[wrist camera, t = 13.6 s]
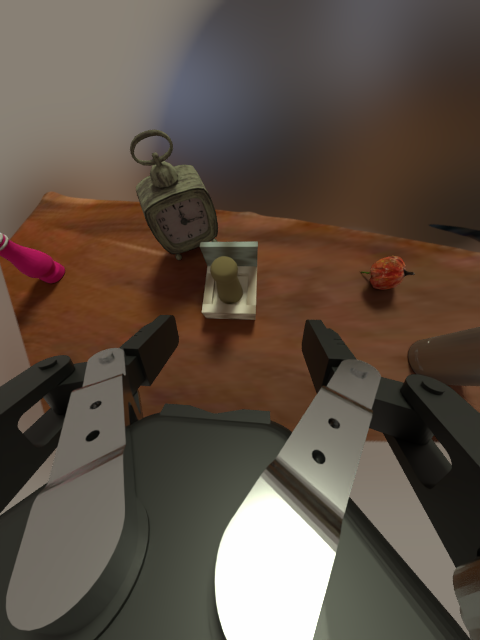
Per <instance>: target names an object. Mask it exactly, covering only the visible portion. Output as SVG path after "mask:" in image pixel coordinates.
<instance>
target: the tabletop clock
mask: <svg viewBox="0 0 480 640" xmlns="http://www.w3.org/2000/svg"><path fill="white" fill-rule="evenodd" d="M156 135H157V136H162V137H164V138H166V139H167V140H168V141H169V143H170V148H169V150H168V152H167V153H165V154H164V155H163V156H161V157H158V154H157V153H153V154H152V157H153V160H150V161H142V160H138V159H137V158H136V157H135V155H134V149H135V146H136V144H137V143H138V142H139V141H141V140H143V139H144V138H147V137H150V136H156ZM172 150H173V144H172V141H171V139H170V138H169V137H168V135H167V134H165V133H164V132H162V131H159V130H148V131H145V132H142V133H140V134H138V135H137V136H135V138H134V139H133V141H132V142H131V146H130V151H131V155H132V157H133V159H134V160H135V161H136V162H137V163H140V164H142V165H149V166H151V165H153V166H152V168H151V171H150V176H148V177H146V178H145V179H143V180H142V181H141V182H140V183H139V184H138V185H137V186H136V192H137V196H138V199H139V202H140V204H141V207H142V210H143V213H144V216H145V219H146V221H147V224H148V226H149V228H150V230H151V231H152V233H153V235H154V236H155V238H156V239H157V241H158V242H159V243H160V244H161V245H162V247H163V248H164V249H165V250H167V251H168V252H169V253H171V254H176V259H177V260H181V258H182V256H181V255H180V253H183V252H186V251H189V250H192V249H195V248H197V247H199V246H200V242H210V241H212V242H217V240H216V239H214V238H215V237H216V236H217V233H218V223H217V216H216V212H215V209H214V206H213V203H212V200H211V198H210V196H209V194H208V192H207V190H206V188H205V186H204V185H203V183H202V181H201V179H200V177H199V175H198V173H197V171H196V170H195V169H194V168H193V166H190V165H179V166H175V167H173V166H172V165H171V164H169V163H167V162H164V161H165V160H166V159H167V158H168V157H169V156H170V155H171V153H172Z"/></svg>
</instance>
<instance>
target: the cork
mask: <svg viewBox="0 0 480 640" xmlns="http://www.w3.org/2000/svg"><path fill="white" fill-rule="evenodd" d="M210 272H211V276H212V277H213V279H214V280H215V281H216V285H217V292H218V297H219V299H220V300H221V301H222V302H223V303H226V304H234V303H236V302H238V301H239V300H240V299H241V298H242V295H243V289H242V286H241V284H240V282H239V279H238V277H237V274H238V267H237V264H236V262H235V261H234V260H233V259H232V258H230V257H227V256H222V257H218V258H217V259H215V260H214V261H213V263H212V265H211V268H210Z"/></svg>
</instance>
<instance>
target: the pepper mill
mask: <svg viewBox="0 0 480 640" xmlns="http://www.w3.org/2000/svg"><path fill="white" fill-rule="evenodd" d="M0 256H2V257H4V258H6V259H7V260H9V261H10V262H11V263H12V264H13V265H14V266H15V267H16V268H17V269H18V270H19V271H21V272H22V273H23V274H25V275H27V276H29V277H32V278H39V279H40V280H42V281H44V282H47V283H55V282H57V281H59V280H60V279H61V278H62V277H63V275H64V273H65V269H64V267H63V266H62V265H61V264H59V263H57V262H55V261H53V259H52V258H51V257H50V256H49V255H47V254H45V253H43V252H41V251H38V250H34V249H30V248H26V247H23V246H20V245H18V244H16V243H14V242H12V241H10V240H9V239H8V237H7V236H6V235H4V234H2V233H0Z"/></svg>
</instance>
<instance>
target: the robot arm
mask: <svg viewBox="0 0 480 640" xmlns="http://www.w3.org/2000/svg"><path fill="white" fill-rule="evenodd" d="M178 343H179V336H178V331H177V326H176V321H175V317H174V316H173V315H160V316H158V317H157V318H156V319H155V320H154V321H153V322H152V323H150V324H148V325H146V326H144V327H143V328H141V329H140V330H139V331H138V332H137V333H136V334H135V335H134V336H132V337H131V338H130V339H129V340H128V341H126V342H125V343H124V344H123V345H122V346H121V347H120V348H111V349H107V350H103V351H101V352H99V353H97V354H95V355H93V356H92V357H91V358H90V359H89V360H88V362H84V363H77V364H73V363H72V361H71V359H70V357H69V356H66V355H60V356H54V357H51V358H47V359H45V360H42V361H40V362H38V363H36V364H35V365H33V366H31V367H30V368H28V369H27V370H25V371H24V372H22V373H21V374H19V375H18V376H16V377H15V378H13V379H11V380H10V381H8V382H7V383H5V384H4V385H2V386H1V387H0V513H1V512H2V511H3V509H4V508H5V507H6V506H7V505H8V504H9V502H10V501H11V500H12V499H13V498H14V497H15V495H16V494H17V493H18V492H19V491H20V489H21V488H22V487H23V486H24V485H25V484H26V483H27V481H28V480H29V479H30V478H31V477H32V475H33V474H34V473H35V472H36V471H37V470H38V469H39V467H40V466H41V465H42V464H43V463H44V462H45V461H46V459H47V458H48V457H49V456H50V454H52V452H53V451H54V450H55V449H56V448H57V451H56V454H55V458H54V462H53V466H52V470H51V474H50V478H49V481H48V483H47V484H45V485H43V486H42V487H41V488H39V489H38V490H36V491H35V492H33V493H32V494H30V495H29V496H28V497H26V498H25V499H23V500H22V501H20V502H19V503H18V504H16V505H15V506H13V507H12V508H10V509H9V510H7V511H6V512H5V513H3V514H2V515H0V640H470V639H471V640H480V413H479V412H477V411H476V410H475V409H474V408H473V407H472V406H471V405H470V404H468V403H467V402H466V401H465V400H464V399H463V398H462V397H461V396H460V395H458V394H457V393H456V392H455V391H454V390H453V389H451V388H450V387H449V386H447V385H459V386H480V327H477V328H472V329H468V330H463V331H459V332H455V333H450V334H446V335H441V336H437V337H432V338H428V339H423V340H419V341H417V342H415V343H414V344H413V345H412V346H411V347H410V349H409V353H408V359H409V363H410V365H411V367H412V369H413V370H414V372H415V373H416V374H412V375H409V376H407V378H406V380H405V382H404V383H403V382H399V381H395V380H391V379H387V378H383V377H381V376H380V373H379V372H378V371H377V370H376V369H375V368H374V367H373V366H371V365H369V364H368V363H365V362H363V361H360V360H357V359H356V358H355V356H354V355H353V354H352V352H351V351H350V350H349V348H348V347H347V346H346V345H345V343H344V342H343V340H342V339H341V338H340V336H339V335H338V334H337V333H336V332H334V331H333V330H331V329H327V328H326V327H325V325H324V324H323V322H322V321H321V320H306V323H305V328H304V334H303V339H302V352H303V355H304V358H305V361H306V364H307V367H308V370H309V373H310V375H311V378H312V381H313V384H314V387H315V390H316V393H317V395H316V397H315V398H314V400H313V401H312V403H311V405H310V406H309V408H308V409H307V411H306V412H305V414H304V415H303V417H302V418H301V420H300V422H299V423H298V425H297V426H296V428H295V429H294V431H293V432H291V431H290V430H288V429H287V428H285V427H284V426H282V425H280V424H278V423H276V422H273V421H271V420H270V411H258V410H244V409H242V410H236V411H230V412H224V413H218V414H213V413H210V412H207V411H204V410H202V409H199V408H196V407H193V406H190V405H177V404H165V405H164V407H163V409H162V411H161V413H157V414H153V415H150V416H147V417H145V418H143V412H142V406H141V400H140V393H139V390H138V388H139V387H140V385H141V386H151V384H152V383H153V381H154V380H155V378H156V377H157V376H158V374H159V373H160V371H161V370H162V368H163V367H164V365H165V364H166V362H167V361H168V359H169V358H170V356H171V355H172V353H173V352H174V351H175V349H176V348H177V346H178ZM42 398H44V399H45V400H46V402H47V403H48V404H49V406H50V407H51V408H50V409H49V410H48V411H47V412H46V413H45V414H44V415H43V416H42V417H41V418H39V419H38V420H37V421H36V422H35V423H34V424H33V425H32V426H31V427H30V428H29V429H27V430H26V431H25V432H24V433H22V432H21V431H20V430H19V429H18V426H17V425H18V421H19V419H20V417H21V416H22V415H23V413H25V412H26V411H27V410H29V409H30V408H31V407H32V406H33V405H34V404H36V403H37V402H38V401H39V400H40V399H42ZM369 428H371V429H374V430H376V431H379V432H382V433H383V434H384V436H385V438H386V440H387V441H388V443H389V445H390V447H391V449H392V450H393V452H394V454H395V456H396V458H397V460H398V461H399V464H400V465H401V467H402V469H403V471H404V473H405V475H406V476H407V478H408V480H409V482H410V484H411V486H412V487H413V489H414V491H415V493H416V495H417V497H418V499H419V500H420V502H421V504H422V506H423V508H424V510H425V511H426V513H427V515H428V517H429V519H430V520H431V522H432V524H433V526H434V528H435V530H436V531H437V533H438V535H439V537H440V539H441V541H442V543H443V545H444V547H445V548H446V550H447V552H448V554H449V556H450V558H451V559H452V561H453V563H454V565H455V567H456V570H455V571H454V575H453V585H454V590H455V594H456V597H457V600H458V602H459V605H460V613H461V617H462V619H463V622H464V624H465V626H466V628H467V629H468V631H469V634H470V638H469V637H468V636H467V635H466V633H465V632H464V631H463V630H462V628H461V627H460V626H459V624H458V623H457V622H456V621H455V620H454V618H453V617H452V616H451V615H450V614H449V613H448V612H447V610H446V609H445V608H444V607H443V605H442V604H441V603H440V602H439V601H438V600H437V598H436V597H435V596H434V595H433V594H432V593H431V591H430V590H429V589H428V588H427V587H426V586H425V584H424V583H423V582H422V581H421V580H420V579H419V577H418V576H417V575H416V574H415V573H414V572H413V570H412V569H411V568H410V567H409V566H408V565H407V563H406V562H405V561H404V560H403V559H402V558H401V556H400V555H399V554H398V553H397V552H396V551H395V549H394V548H393V547H392V546H391V545H390V544H389V542H388V541H387V540H386V539H385V538H384V537H383V535H382V534H381V533H380V532H379V531H378V530H377V528H376V527H375V526H374V525H373V524H372V523H371V521H370V520H369V519H368V518H367V517H366V516H365V514H364V513H363V512H362V511H361V510H360V509H359V507H358V506H357V505H356V504H355V503H354V502H353V501H352V499H351V498H350V497H349V495H350V492H351V488H352V485H353V481H354V478H355V474H356V471H357V467H358V464H359V460H360V457H361V453H362V450H363V446H364V443H365V439H366V436H367V432H368V429H369ZM434 435H435V437H436V438H437V439H438V441H439V442H440V443H441V444H442V446H443V447H444V448H445V449H446V451H447V452H448V454H449V456H450V459H451V462H452V465H451V464H450V463H449V462H448V460H447V459H446V457H445V456H444V455H443V453H442V452H441V451H440V450H439V448H438V447H437V446H436V444H435V443H434V442H433V440H432V439H431V438H432V437H433V436H434Z"/></svg>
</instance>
